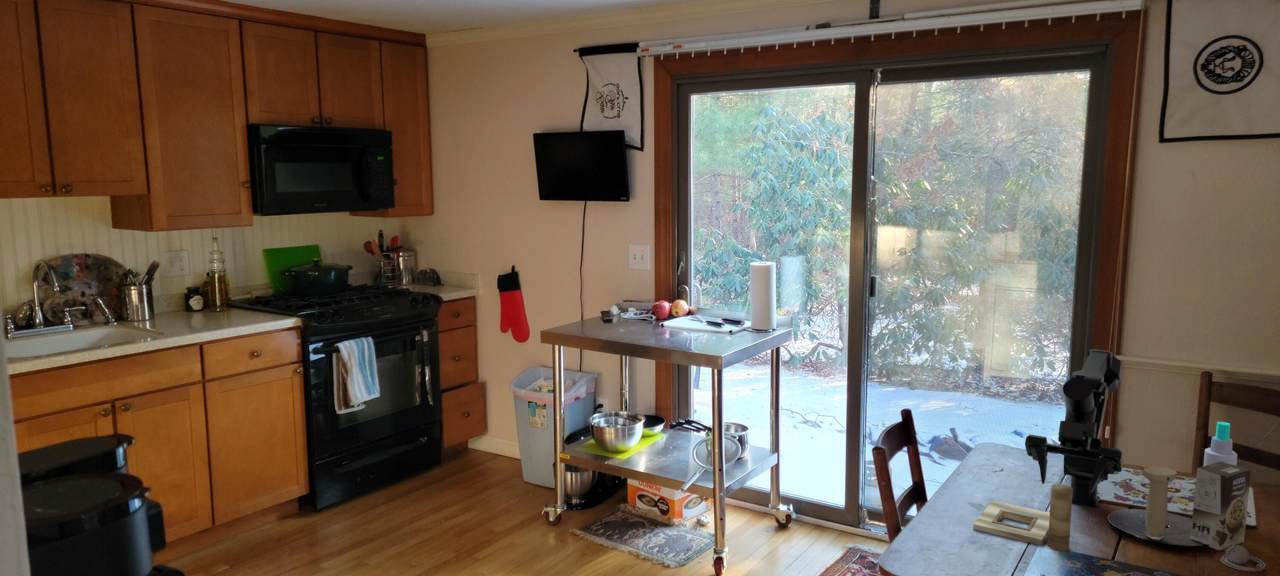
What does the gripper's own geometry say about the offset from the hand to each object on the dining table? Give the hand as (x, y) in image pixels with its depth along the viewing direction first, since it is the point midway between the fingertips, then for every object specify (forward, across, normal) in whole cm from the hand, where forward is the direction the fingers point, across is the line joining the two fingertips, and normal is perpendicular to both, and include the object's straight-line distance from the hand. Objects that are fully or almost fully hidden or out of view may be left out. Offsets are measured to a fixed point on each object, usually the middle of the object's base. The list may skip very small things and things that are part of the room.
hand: (1066, 487), depth 185 cm
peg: (+12, 0, +5) cm, 12 cm away
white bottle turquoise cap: (-14, +26, +30) cm, 42 cm away
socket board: (+7, -10, +10) cm, 15 cm away
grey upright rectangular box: (-4, +27, +20) cm, 34 cm away
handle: (0, +16, +16) cm, 23 cm away
